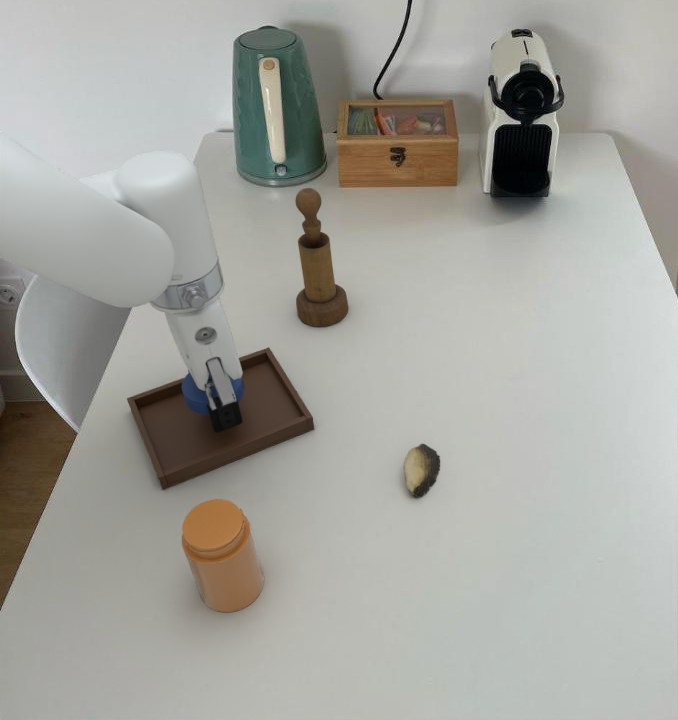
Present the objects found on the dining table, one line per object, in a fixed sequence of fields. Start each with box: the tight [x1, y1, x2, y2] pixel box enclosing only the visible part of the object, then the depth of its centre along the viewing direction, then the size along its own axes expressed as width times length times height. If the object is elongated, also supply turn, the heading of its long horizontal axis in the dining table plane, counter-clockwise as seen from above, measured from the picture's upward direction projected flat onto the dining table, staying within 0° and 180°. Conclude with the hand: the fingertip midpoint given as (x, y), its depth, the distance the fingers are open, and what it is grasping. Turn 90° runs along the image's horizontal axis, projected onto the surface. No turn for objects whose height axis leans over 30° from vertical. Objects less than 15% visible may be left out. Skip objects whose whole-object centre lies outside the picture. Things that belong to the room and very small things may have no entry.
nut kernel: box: [403, 443, 441, 498], centre depth 85 cm, size 6×5×3 cm
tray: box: [126, 347, 315, 491], centre depth 92 cm, size 17×13×2 cm
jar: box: [181, 498, 265, 613], centre depth 73 cm, size 6×6×10 cm
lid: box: [182, 372, 245, 415], centre depth 89 cm, size 6×6×2 cm
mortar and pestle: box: [295, 187, 349, 327], centre depth 100 cm, size 7×6×18 cm
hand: (217, 405), depth 91 cm, fingers closed on lid, 6 cm apart
